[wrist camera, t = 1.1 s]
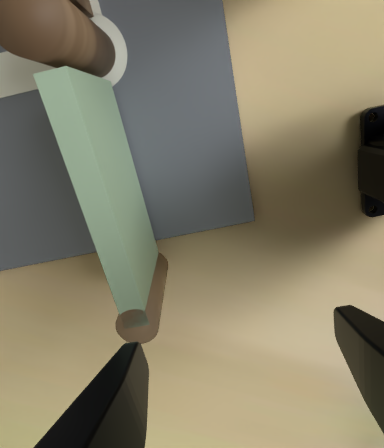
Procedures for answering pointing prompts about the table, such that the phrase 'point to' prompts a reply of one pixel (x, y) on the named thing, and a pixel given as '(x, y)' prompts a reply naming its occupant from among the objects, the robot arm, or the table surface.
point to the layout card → (131, 132)
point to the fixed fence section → (56, 34)
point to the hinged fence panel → (108, 194)
